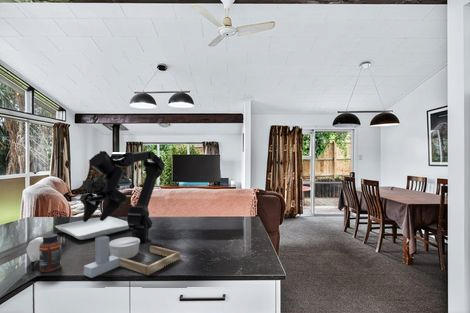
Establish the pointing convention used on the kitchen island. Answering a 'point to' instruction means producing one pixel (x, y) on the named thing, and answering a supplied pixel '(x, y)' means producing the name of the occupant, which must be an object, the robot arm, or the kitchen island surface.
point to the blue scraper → (101, 259)
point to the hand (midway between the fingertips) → (92, 221)
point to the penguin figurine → (34, 249)
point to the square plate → (93, 227)
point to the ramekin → (124, 247)
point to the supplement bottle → (50, 253)
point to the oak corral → (146, 269)
